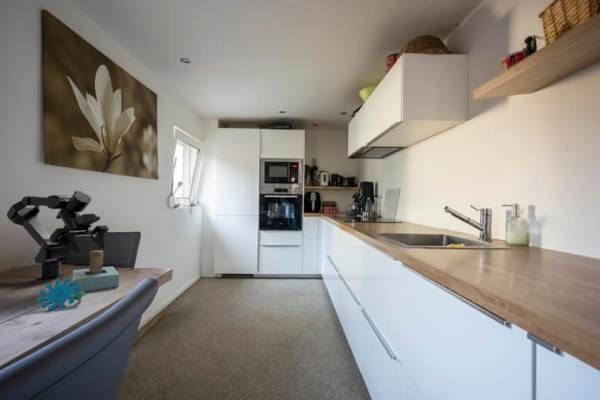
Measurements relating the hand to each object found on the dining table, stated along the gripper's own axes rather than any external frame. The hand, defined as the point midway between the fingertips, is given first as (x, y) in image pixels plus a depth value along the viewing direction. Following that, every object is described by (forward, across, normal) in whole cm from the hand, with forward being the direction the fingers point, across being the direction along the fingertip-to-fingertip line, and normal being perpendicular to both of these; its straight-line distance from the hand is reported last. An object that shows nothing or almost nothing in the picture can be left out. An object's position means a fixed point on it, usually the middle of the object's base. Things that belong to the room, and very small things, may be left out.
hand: (91, 249), depth 105 cm
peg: (+11, 0, +7) cm, 13 cm away
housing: (+11, 0, +7) cm, 13 cm away
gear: (+20, -19, -2) cm, 28 cm away
